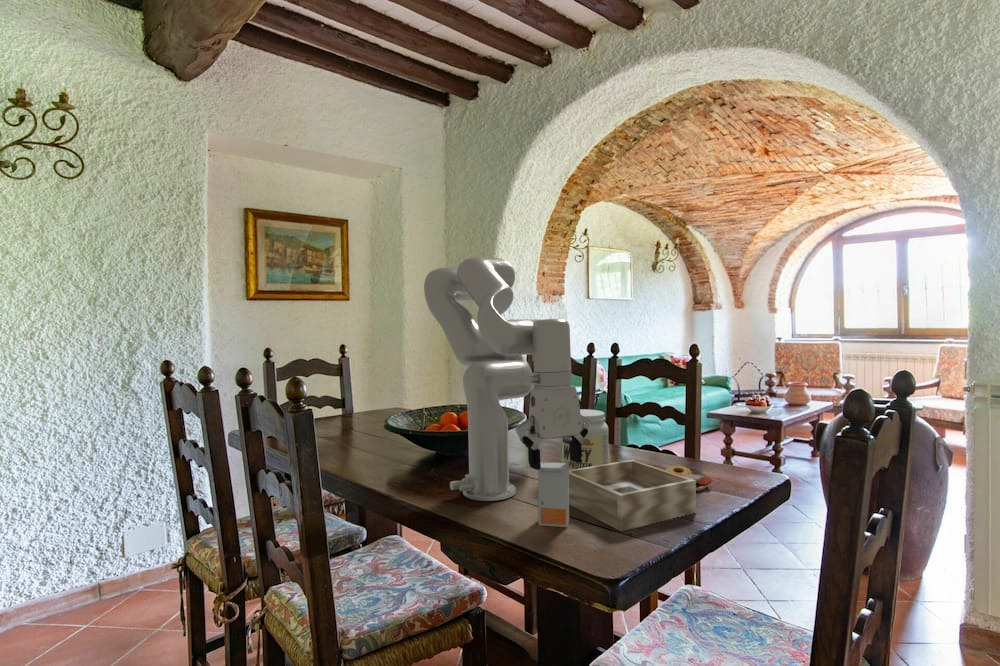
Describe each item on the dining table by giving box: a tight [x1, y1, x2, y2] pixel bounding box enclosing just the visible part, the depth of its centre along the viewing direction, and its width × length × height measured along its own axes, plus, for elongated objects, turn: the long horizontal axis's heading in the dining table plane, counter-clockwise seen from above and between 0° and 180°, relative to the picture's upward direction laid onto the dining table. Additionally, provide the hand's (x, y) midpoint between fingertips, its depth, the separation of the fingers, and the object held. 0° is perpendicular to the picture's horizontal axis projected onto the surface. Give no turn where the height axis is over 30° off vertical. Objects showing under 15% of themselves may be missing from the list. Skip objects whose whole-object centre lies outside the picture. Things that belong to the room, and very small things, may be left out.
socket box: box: [569, 459, 697, 532], centre depth 121 cm, size 20×20×7 cm
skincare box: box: [537, 462, 570, 528], centre depth 112 cm, size 6×4×12 cm
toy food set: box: [664, 465, 712, 492], centre depth 137 cm, size 13×13×3 cm
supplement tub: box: [561, 408, 609, 470], centre depth 145 cm, size 12×12×17 cm
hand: (555, 464), depth 112 cm, fingers open, 9 cm apart
